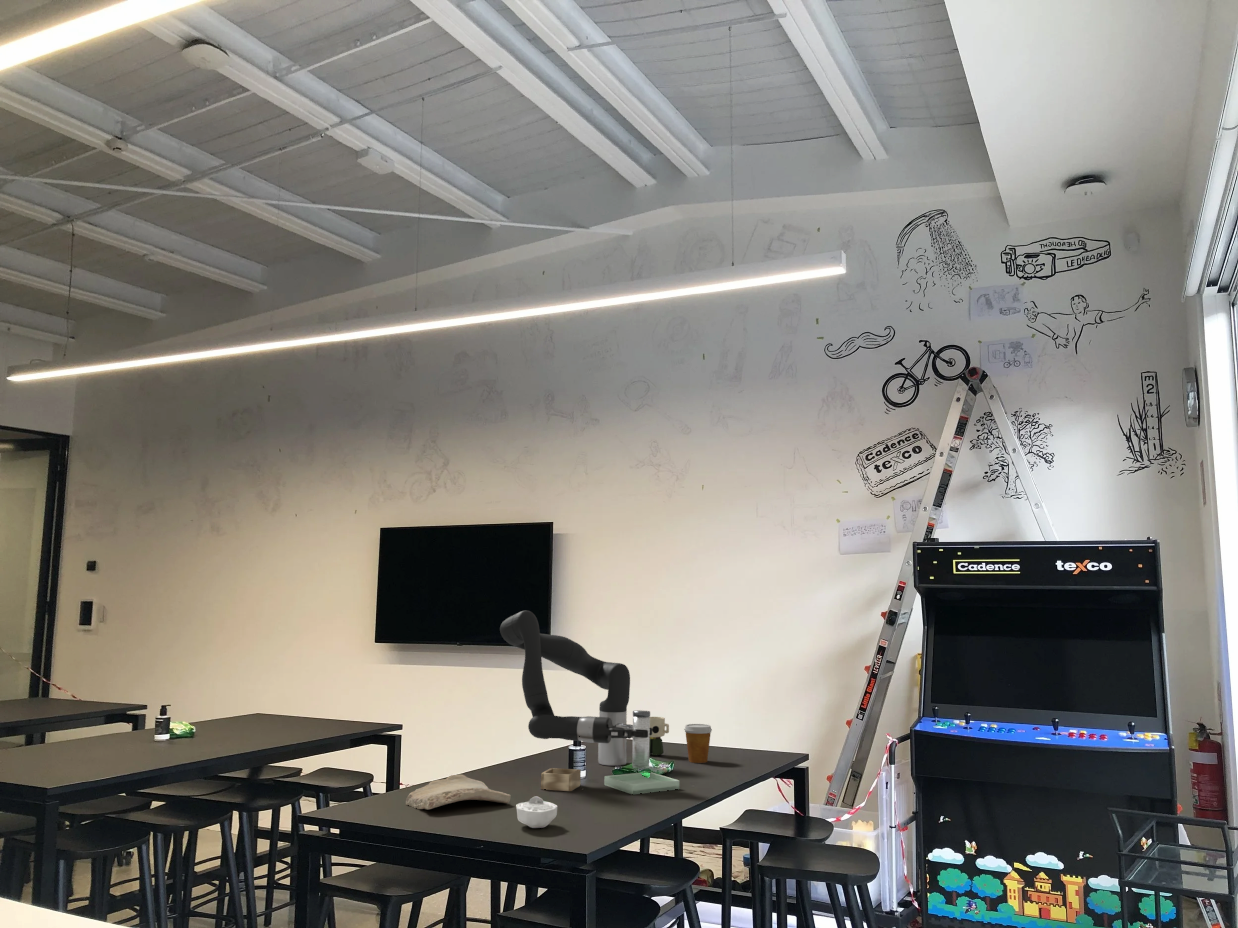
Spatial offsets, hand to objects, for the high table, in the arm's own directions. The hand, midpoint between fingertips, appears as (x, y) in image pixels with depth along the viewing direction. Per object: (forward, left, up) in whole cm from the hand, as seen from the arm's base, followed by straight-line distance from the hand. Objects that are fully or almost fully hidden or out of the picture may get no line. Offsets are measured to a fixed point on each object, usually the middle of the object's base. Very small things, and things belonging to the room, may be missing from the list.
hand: (649, 732), depth 287 cm
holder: (-13, -23, -16) cm, 30 cm away
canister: (-2, -2, -10) cm, 10 cm away
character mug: (-49, +33, -16) cm, 61 cm away
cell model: (+28, -51, -16) cm, 60 cm away
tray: (-2, -2, -16) cm, 16 cm away
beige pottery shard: (-6, -58, -16) cm, 60 cm away
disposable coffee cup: (-31, +39, -16) cm, 52 cm away
